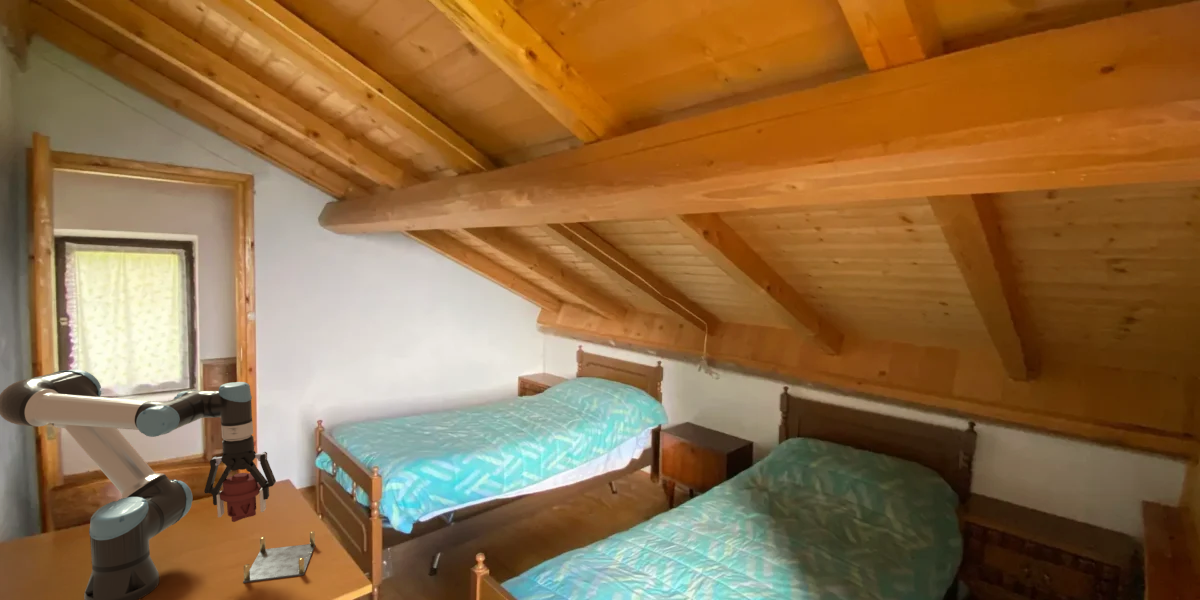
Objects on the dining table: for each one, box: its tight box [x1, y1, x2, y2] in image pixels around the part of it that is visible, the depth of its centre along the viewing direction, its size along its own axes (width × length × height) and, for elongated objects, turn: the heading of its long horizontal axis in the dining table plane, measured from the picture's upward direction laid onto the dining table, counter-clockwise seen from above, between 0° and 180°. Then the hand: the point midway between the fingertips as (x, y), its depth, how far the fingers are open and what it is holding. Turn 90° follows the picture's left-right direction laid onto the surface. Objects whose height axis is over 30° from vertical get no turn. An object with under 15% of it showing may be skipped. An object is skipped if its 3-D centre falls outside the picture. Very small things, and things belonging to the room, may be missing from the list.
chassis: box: [243, 530, 316, 584], centre depth 165 cm, size 15×17×4 cm
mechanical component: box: [220, 472, 261, 523], centre depth 162 cm, size 12×10×10 cm
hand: (242, 512), depth 162 cm, fingers closed on mechanical component, 10 cm apart
